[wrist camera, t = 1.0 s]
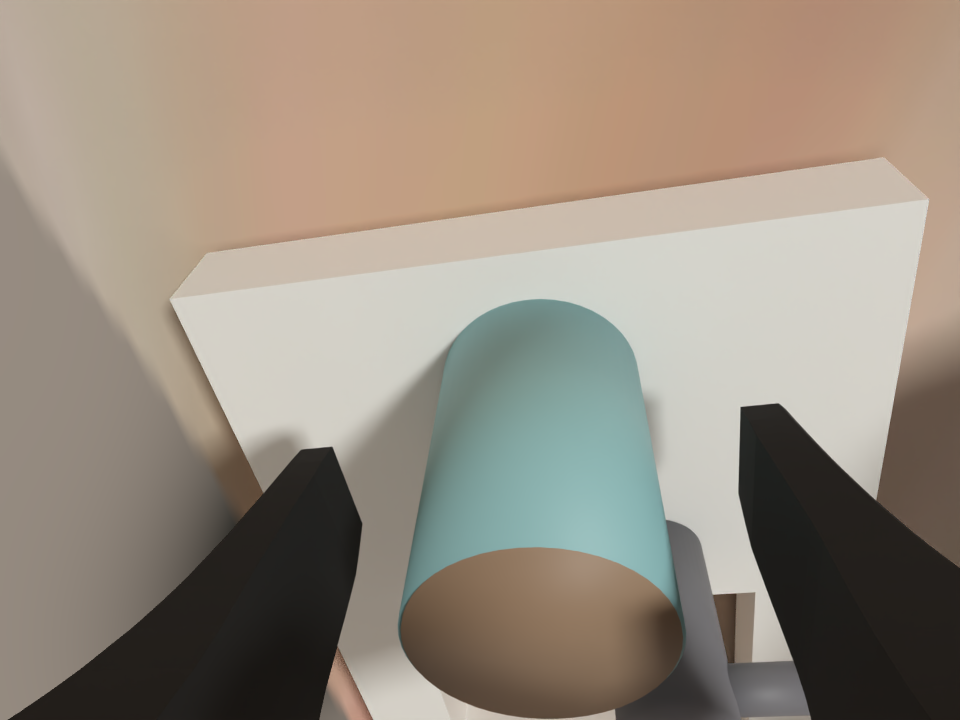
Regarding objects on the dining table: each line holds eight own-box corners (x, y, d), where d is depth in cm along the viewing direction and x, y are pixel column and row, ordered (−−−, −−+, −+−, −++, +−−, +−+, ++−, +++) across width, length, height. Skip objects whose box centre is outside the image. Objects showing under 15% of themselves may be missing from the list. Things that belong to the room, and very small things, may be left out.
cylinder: (631, 286, 14) (683, 536, 9) (643, 445, 16) (689, 716, 11) (424, 311, 14) (363, 558, 9) (463, 461, 17) (431, 724, 12)
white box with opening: (884, 157, 14) (1093, 350, 9) (808, 718, 25) (879, 952, 20) (207, 253, 16) (44, 453, 11) (413, 730, 27) (383, 944, 22)
